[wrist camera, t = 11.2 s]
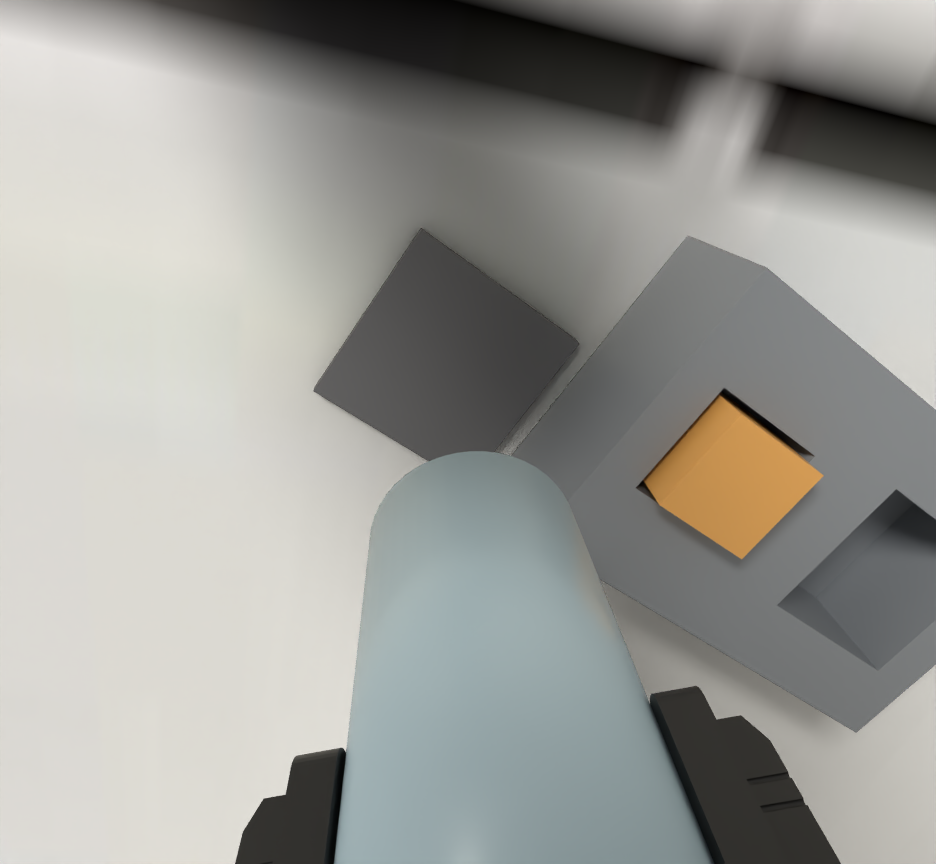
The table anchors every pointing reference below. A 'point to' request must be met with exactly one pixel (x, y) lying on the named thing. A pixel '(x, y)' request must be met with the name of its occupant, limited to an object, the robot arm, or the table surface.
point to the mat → (444, 356)
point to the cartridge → (499, 689)
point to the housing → (804, 527)
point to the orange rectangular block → (730, 477)
